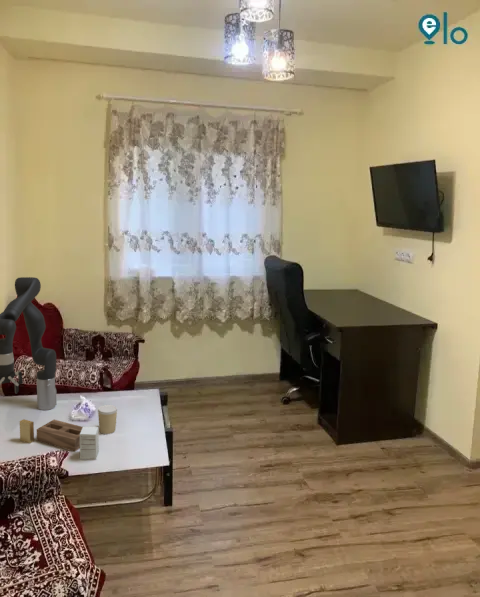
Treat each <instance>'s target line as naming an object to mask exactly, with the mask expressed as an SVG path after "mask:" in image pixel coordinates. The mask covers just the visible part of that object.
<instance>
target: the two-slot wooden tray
mask: <svg viewBox="0 0 480 597" xmlns="http://www.w3.org/2000/svg"><path fill="white" fill-rule="evenodd" d="M83 427H84V426H81V425H77V424H72V423H69V422H66V421H60V420H58V419H52V420H51V421H49V422H47V423H45V424H43V425H42V426H40V427H38V428H37V429H36V441H37V442H39V443H43V444H47V445H50V446H54V447H57V448H61V449H65V450H66V451H67V450H68V451H72V452H76V451H78V450H80V432H81V430H82V428H83Z"/></svg>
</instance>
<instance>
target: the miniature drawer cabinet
mask: <svg viewBox="0 0 480 597" xmlns="http://www.w3.org/2000/svg"><path fill="white" fill-rule="evenodd" d="M82 427H83V428H82V430H81V432H80V448H79V460H90V461H91V460H97V458H98V455H99V452H100V451H99V450H100V447H99V446H100V444H99V442H100V439H99V438H100V436H99V433H100V430H99V426H82Z"/></svg>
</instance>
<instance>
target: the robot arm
mask: <svg viewBox="0 0 480 597" xmlns="http://www.w3.org/2000/svg"><path fill="white" fill-rule="evenodd" d="M41 287H42V286H41V281H40V280H39V278H38V277H30V276H29V277H28V276H26V277H25V276H24V277H23V276H22V277H17V278H16V279H15V281H14V290H15V293H16V296H17V297H16V298H14V299H13V300H11V301H10V302H9V303H8V304H7V305H6V306H5V308H4V310H3V311H2V312H1V313H0V336H1V335H4V336H5V337H4V338H0V385H2V384H3V385H4V384H9V383H11V382H12V383H13V384H14V393H15V394H18V393H19V391H20V388H19V386H20V385H23V383H24V382H23V373H22V371H21V370H17V371H15V358H14V357H15V356H14V353H13V352H14V350H13V346H14V345H13V343H14V336H15V333H16V330H17V325H16V324H17V323H16V322H17V320H18V319H19V318H20V316H21V315H22V314H23V317H24V322H25V328H26V331H27V334H28V337H29V338H28V339H29V343H30V351H31V356H32V357H31V358H32V361H33V363H34V364H36V365H38V366H39V365H40V366H43V367H44V368H43V369H41V370H38V371H37V372H36V400H37V401H36V402H37V409H38V410H40V411H48V410H52V408H53V409H55V407H56V406H57V403H58V402H57V388H56V375H55V374H56V371H57V353H56V350H55V349H52V348H47V347H43V343H42V337H43V336H44V333H45V331H46V327H47V326H46V320H45V317H44V315H43V313H42V312H41V310H40V309H39V308H38V307H37V306H36V305H34V303H33V302H32V301H33V300H34V299H35V298H36V297H37V296H38V295H39V293H40V291H41ZM16 376H17V377H18V378H17V379H18V381H17V380H16V379H15V377H16Z"/></svg>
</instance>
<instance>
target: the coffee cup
mask: <svg viewBox="0 0 480 597" xmlns="http://www.w3.org/2000/svg"><path fill="white" fill-rule="evenodd" d="M97 414H98V416H97V418H98V427H99V433H100V434H103V435H111V434H113V433H115V432H116V426H117V417H118V416H117V414H118V408H117V406H115V405H112V404H111V405H110V404H105V405H101V406H99V407H98V409H97Z"/></svg>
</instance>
